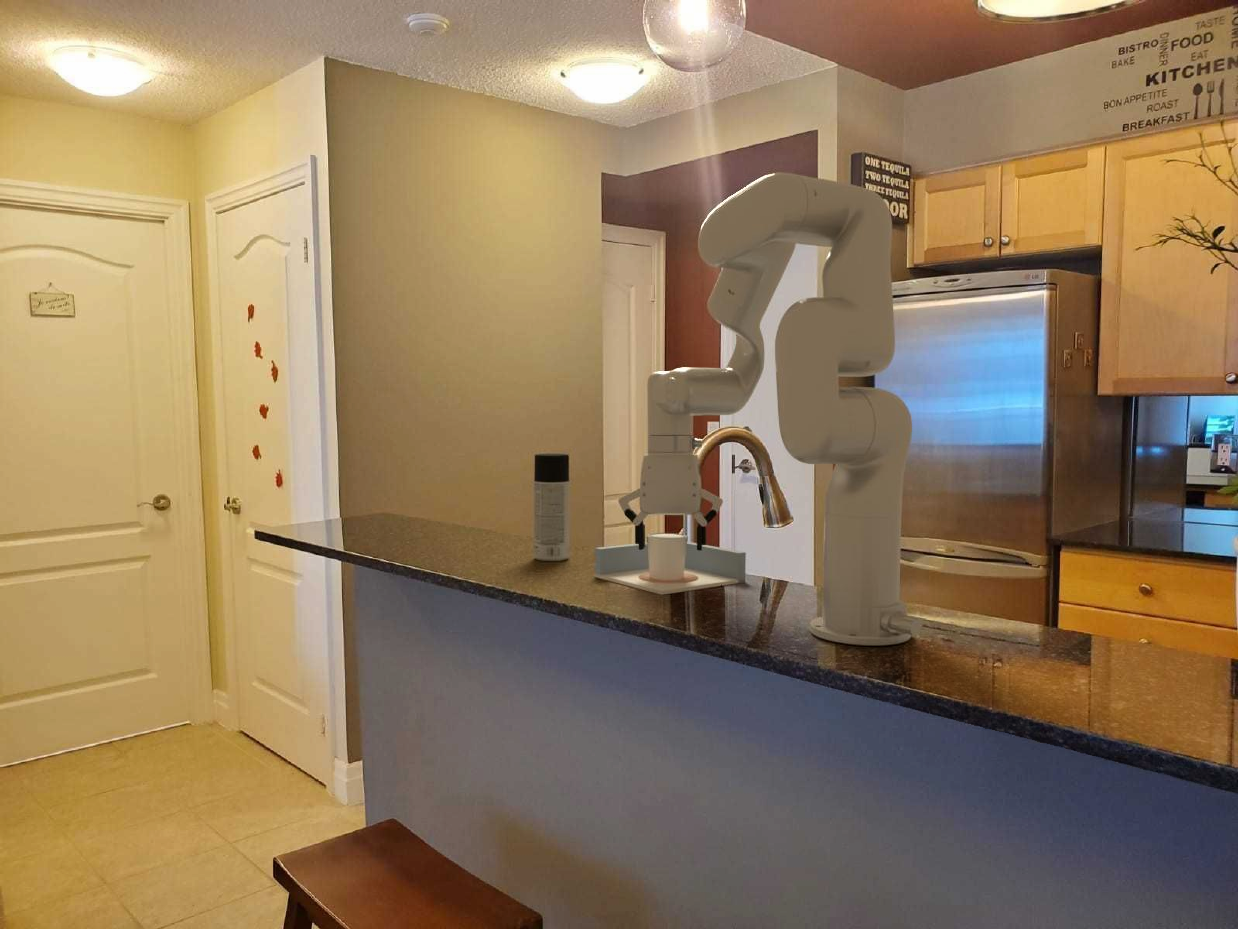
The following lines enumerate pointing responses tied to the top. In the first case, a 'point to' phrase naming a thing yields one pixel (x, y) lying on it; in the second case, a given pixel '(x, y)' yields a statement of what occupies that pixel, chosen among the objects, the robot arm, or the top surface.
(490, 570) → the top surface
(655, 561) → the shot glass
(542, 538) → the spray can
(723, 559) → the arena
